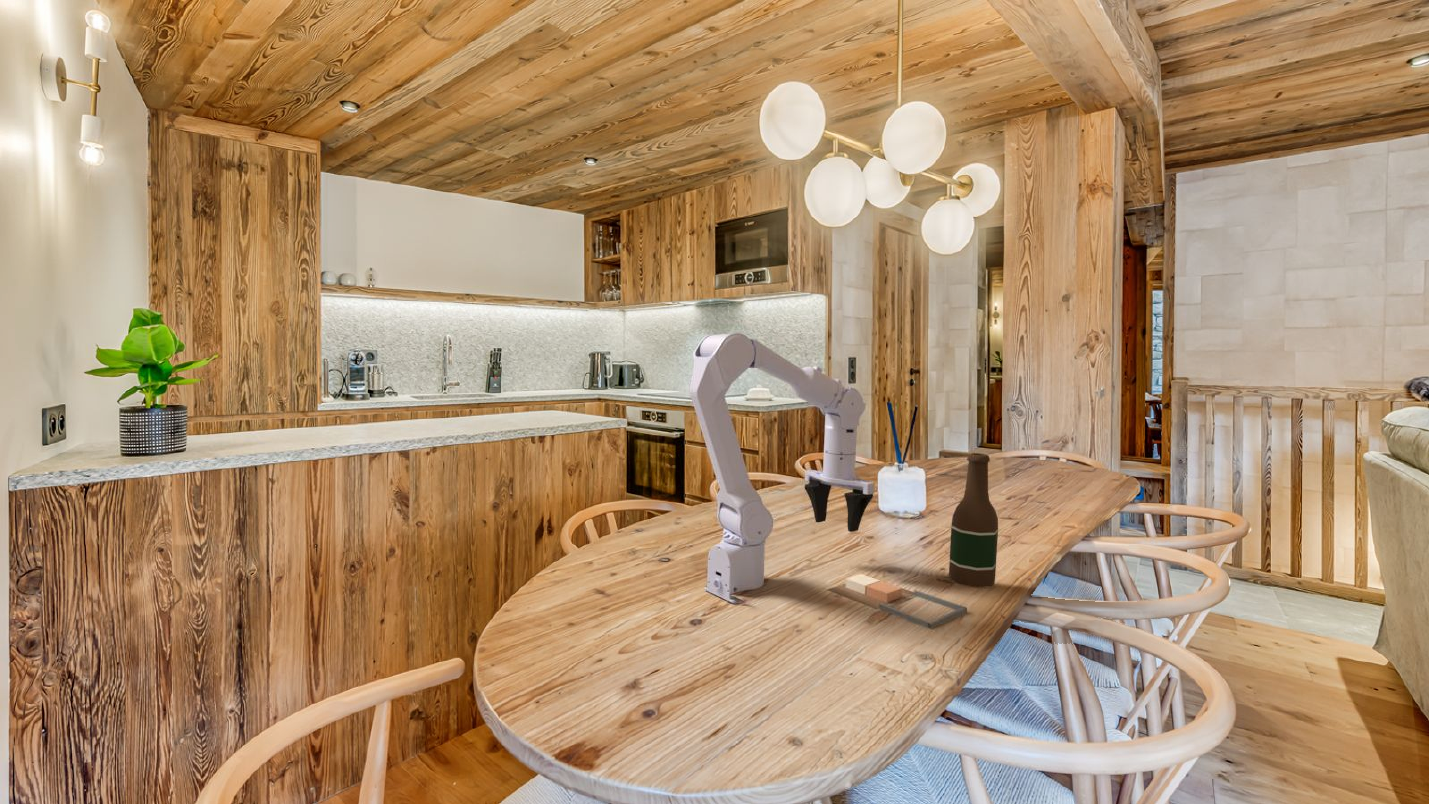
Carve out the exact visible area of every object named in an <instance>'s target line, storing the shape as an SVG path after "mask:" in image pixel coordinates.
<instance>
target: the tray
mask: <svg viewBox="0 0 1429 804" xmlns="http://www.w3.org/2000/svg"><path fill="white" fill-rule="evenodd" d="M913 592H914V595H912V596H909V597H906V598H904V599H901V600H899V601H896V602H893V603H891V604H888V605H884V604H879V608H878V609H879V610H881V611H884V612H886V613H888V614H892V615H894V616H896V617H899V618H901V619H904V620H907V621H909V622H912V623H913V624H916V625H919V626H922V627H925V628H928V629H933V628H936V627H938V626H940V625H942V624H945V623H947V622H949V621H951V620H954V619H955V618H957V617H960V616H962V615H964V614H966V613H967V612H968V608H967V607H966V606H963V605H960V604H958V603H955V602H951V601H949V600H945V599H943V598H940V597H937V596H934V595H930V594H928V593H924V592H922V591H920V590H914V591H913ZM916 597H918V598H921V599H924V600H926V601H930V602H931V603H935V604H938V605H940V606H943V607H946V608H949V609H952V610H954V611H951V612H948V613H946V614H944V615H942V616H939V617H937V618H935V619H933V620H930V621H929V620H926V619H924V618H921V617H918V616H915V615H912V614H910V613H907V612H905V611H901V610H900V609H896V608H895V607H893V606H895V605H898V604H900V603H903V602H906V601H908V600H911V599H914V598H916Z"/></svg>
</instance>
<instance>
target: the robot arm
mask: <svg viewBox="0 0 1429 804" xmlns="http://www.w3.org/2000/svg"><path fill="white" fill-rule="evenodd" d="M692 357H693V367H692V373H691V380H690V385H689V394H690V395H689V396H690V398H691V401H692V405H693V407H694V408H693V409H694V411H695V414H696V417H697V420H698V424H699V427H700V431H701V434H702V437H703V439H704V442H705V447H706V449H707V452H708V456H709V460H710V462H711V466H712V469H713V471H714V476H715V477H716V481H717V485H718V488H719V490H718V492H717V493H716V494H715V495H716V497H715V498H716V502H717V512H716V517H717V520H718V521H717V522H718V523H719V525H720V526H721V528H722V529H723V530H722V531H723V532H722V539H721V540H720V542H719V543H717V544H716V545H713V546H711V548H710V549H709V552H708V555H707V573H706V574H707V578H706V579H707V580H706V585H705V586H704V587H703V589H704V591H706V592H708V593H711V594H712V595H715V596H716V597H719V598H721V599H723V600H725V601H727V602H730V603H732V604H737V603H740V602H743V601H744V600H742V598H741V599H740V598H738V597H736V596H735V595H732V594H736V593H739V592H743V591H749V590H756V589H759V588H760V587H761V588H762V586H763V585H764V583H765V575H764V574H765V552H766V551H765V550H766V540H767V539H768V538H769V536H770V535H771V533H772V531H773V527H774V518H773V515H772V513H771V512H770V511H769V509H767V507H766V506H765V505H764V503H763V500H762V497H761V496H760V494H759V493H758V491H757V490H756V489H755V488H754V486H753V485H752V483H751V480H750V477H749V472H748V470H747V466H746V464H745V459H744V456H743V453H742V449H741V447H740V443H739V440H738V437H737V433H736V430H735V427H734V423H733V419H732V416H731V413H730V410H729V407H728V403H727V400H726V394H727V393H728V391H729V389H730V387H731V386H732V384H733V383H734V382H735V381H736V380H737V379H738V378H739V377H740V376H742V375H743V373H744V372H746V371H747V370H748V369H749V368H750V369H757V370H760V371H762V372H764V373H766V374H768V375H770V376H772V377H773V378H776V379H778V380H780V381H782V382H784V383H786V384H788V385H790V386H791V390H792V393H793V395H794V396H796V397H797V398H799V399H801V400H803V401H805V402H807V403H809V404H810V405H813V406H814V407H816V408H817V409H819V410H820V412H821V413H822V414H823V415H824V417H825V418H824V437H823V439H824V444H823V459H822V460H823V462H822V463H823V464H822V471H821V470H815V469H807V470H805V471H804V481H805V482H808V483H806V484H804V490H805V491H806V493H807V495H808V497H809V500H810V503H811V506H812V511H813V515H814V519H815V523H822V522H823V523H824V522H826V519H827V513H828V512H827V510H828V501H829V497H830V496H829V495H830V492H831V488H832V487H836V488H839V489H840V488H841V489H846V490H850V492H845V493H844V499H845V503H846V508H847V531H848V532H850V533H853V532H858V531H859V528H860V525H861V521H862V518H863V516H864V514H865V511H866V508H867V507H868V505H869V503H870V502H871V500H872V499H873V497H874V494H875V490H876V489H875V487H876V482H874V481H869V480H867V479H863V478H861V477H857V476H856V457H857V456H856V455H857V453H856V452H857V436H858V426H860V419H861V417H862V415H863V413H864V412H865V409H866V405H867V404H866V402H864V400H863V399H864V398H863V396H862V394H861V392H860V391H859V390H858V389H856V388H855V387H848V386H844V385H843V384H842V383H843V382H842V380H840V379H839V378H832V377H830V376H828V375H826V374H825V373H823V368H821V367H820V366H815V365H814V366H805V367H803V368H800V367H799V366H797V365H795V364H794V363H792V362H791V361H789V360H788V359H786V358H784V357H783V356H781V355H780V354H778V353H777V352H776V351H773V350H772V349H770V348H769V347H767V346H766V345H764V344H763V343H761V342H760V341H759V340H757V339H754V338H749V337H748V336H747V335H745V333H740V332H734V333H726V334H725V333H724V334H720V333H711V334H707V335H706V336H704V337H702V339H701V340H700V342H699V343H698V345H697V346H696V348H695V349H694V351H693V353H692Z"/></svg>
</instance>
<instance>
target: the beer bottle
mask: <svg viewBox="0 0 1429 804" xmlns="http://www.w3.org/2000/svg"><path fill="white" fill-rule="evenodd" d="M966 460H967V461H968V466H967V472H966V473H967V474H966V482H965V488H964V489H965V491H964V493H963V498H962V500H961V501H960V502H959V503H958V505H957V506H956V507H955V510H954V512H953V514H952V520H951V527H950V528H951V529H950V544H949V545H950V546H949V563H948V564H949V565H948V566H949V567H948V568H949V569H948V578H949V579H950V580H952V581H953V582H955V583H956V584H958V585H962V586H963V585H964V586H968V587H972V588H987V587H988V588H990V587H992V586H995V581H996V573H997V572H996V570H997V569H996V568H997V554H998V539H999V538H998V535H999V519H998V515H997V513H996V512H997V511H996V509H995V508H994V505H993V504H992V502H991V501H990V497H989V496H990V495H989V494H990V493H989V462H991V459H990V455H988V454H985V453H979V452H976V453H975V452H971V453H969V454H968V455H967V457H966Z"/></svg>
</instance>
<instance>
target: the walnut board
mask: <svg viewBox="0 0 1429 804" xmlns="http://www.w3.org/2000/svg"><path fill="white" fill-rule="evenodd" d="M901 588H902V597H901V598H898V599H895V600H893V601H890V602H887V603H886V602H884V601H881V600H878V599H876V598H873V597H870V596H868V595H866V594H862V593H860V592H857V591H854V590H852V589H849V588H846V582H845V583H843V584H840V585H837V586H834V587H830V588H828V589H826V591H828V592H831V593H833V594H836V595H839V596H842V597H844V598H847V599H849V600H852V601H854V602H857V603H859V604H860V605H861V604H862V605H864V606H867V607H870V608H872V609H874V610H877V609H879V604H884V605H889V604H892V603H895V602H897V601H900V600H903V599H905V598H908V597H910V596H913V595H914V591H911V590H908V589H906V588H903V587H901Z"/></svg>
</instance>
